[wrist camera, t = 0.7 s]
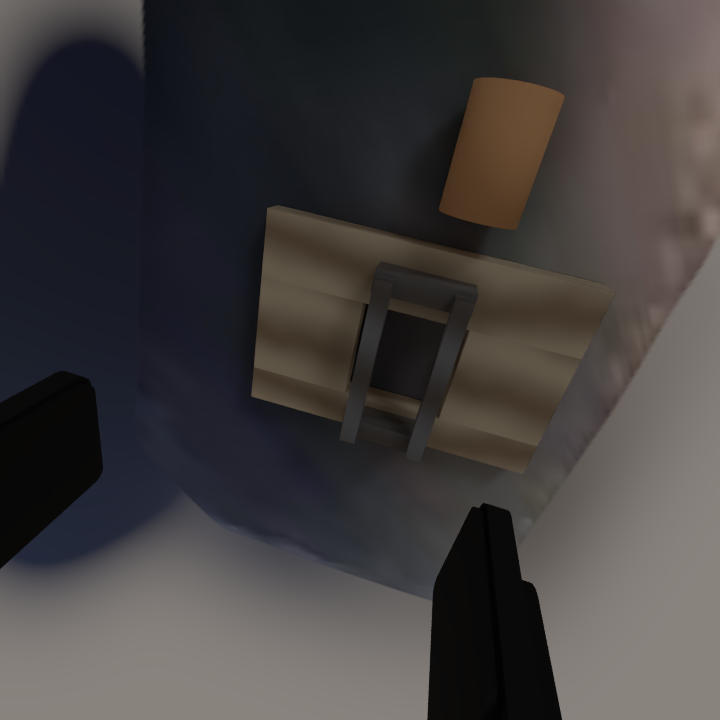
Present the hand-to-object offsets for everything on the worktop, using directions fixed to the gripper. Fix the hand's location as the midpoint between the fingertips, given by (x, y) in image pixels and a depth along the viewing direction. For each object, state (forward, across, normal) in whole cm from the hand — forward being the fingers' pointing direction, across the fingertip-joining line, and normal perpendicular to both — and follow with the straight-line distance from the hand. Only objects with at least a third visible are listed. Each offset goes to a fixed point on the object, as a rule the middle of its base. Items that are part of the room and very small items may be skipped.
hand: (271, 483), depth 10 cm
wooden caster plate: (+24, -3, +6) cm, 25 cm away
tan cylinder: (+24, -4, -8) cm, 26 cm away
